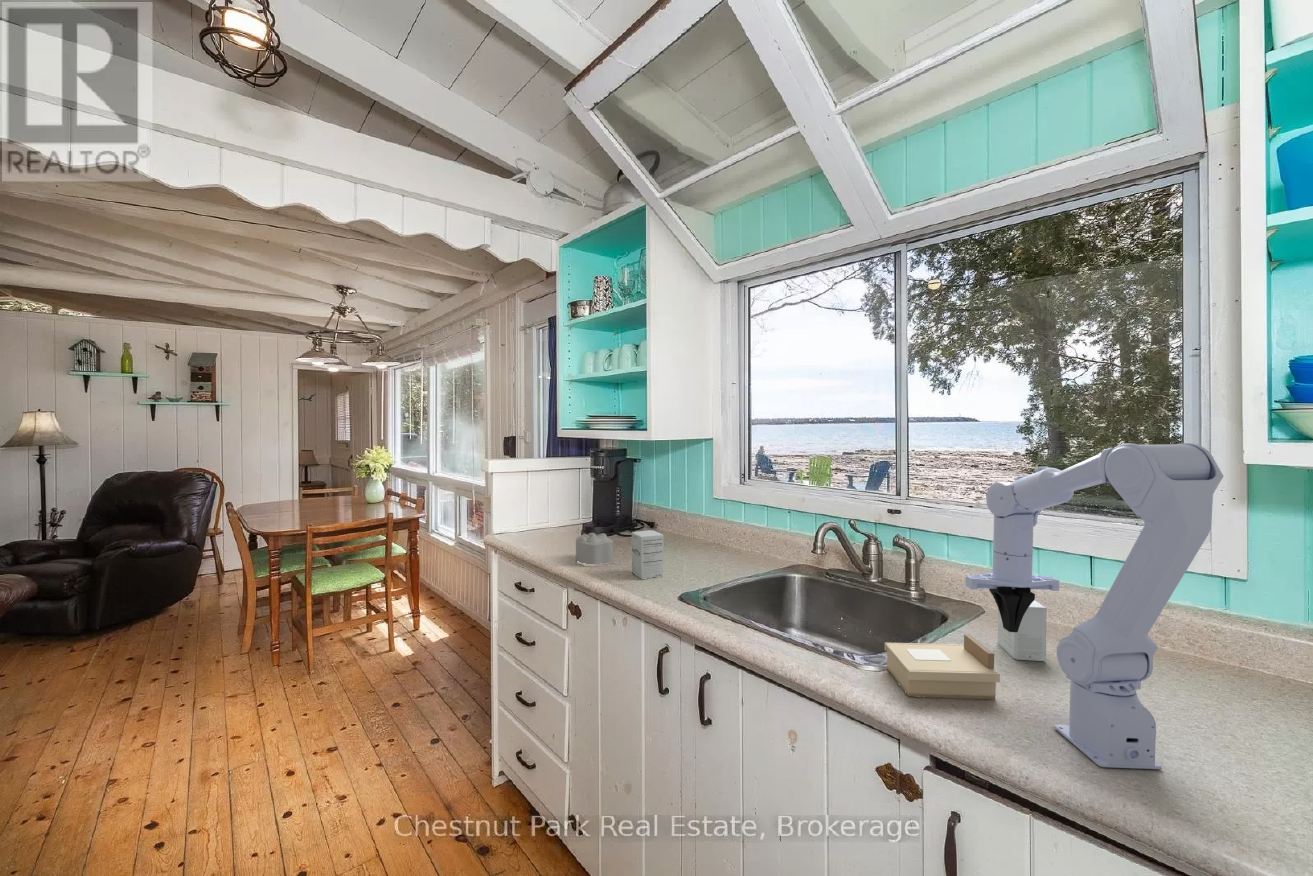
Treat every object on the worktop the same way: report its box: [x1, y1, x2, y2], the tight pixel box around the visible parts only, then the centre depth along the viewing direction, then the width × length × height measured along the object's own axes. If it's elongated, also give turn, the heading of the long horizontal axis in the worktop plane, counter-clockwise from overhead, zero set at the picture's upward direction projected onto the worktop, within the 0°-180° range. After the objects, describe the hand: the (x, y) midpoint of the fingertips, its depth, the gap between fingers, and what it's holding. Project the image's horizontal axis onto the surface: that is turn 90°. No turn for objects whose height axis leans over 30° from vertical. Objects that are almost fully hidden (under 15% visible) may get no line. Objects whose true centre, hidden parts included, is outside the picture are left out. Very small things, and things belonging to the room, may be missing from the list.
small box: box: [997, 600, 1048, 662], centre depth 108 cm, size 8×6×10 cm
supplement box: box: [631, 529, 664, 580], centre depth 161 cm, size 7×7×13 cm
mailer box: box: [886, 648, 997, 701], centre depth 96 cm, size 10×14×4 cm
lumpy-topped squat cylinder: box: [575, 532, 614, 564], centre depth 177 cm, size 10×13×9 cm
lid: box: [884, 633, 1001, 683], centre depth 95 cm, size 12×14×4 cm
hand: (1010, 630), depth 95 cm, fingers closed
